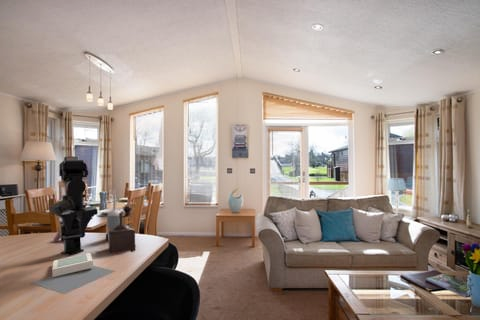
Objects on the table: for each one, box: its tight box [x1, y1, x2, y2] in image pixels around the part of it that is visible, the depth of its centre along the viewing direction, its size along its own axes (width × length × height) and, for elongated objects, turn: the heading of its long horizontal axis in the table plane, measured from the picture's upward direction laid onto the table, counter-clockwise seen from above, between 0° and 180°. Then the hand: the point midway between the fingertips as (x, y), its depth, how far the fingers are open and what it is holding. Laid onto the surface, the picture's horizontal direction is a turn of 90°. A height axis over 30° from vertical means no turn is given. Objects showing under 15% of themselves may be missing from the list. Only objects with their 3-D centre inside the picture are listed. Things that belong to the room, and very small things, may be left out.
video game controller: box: [52, 229, 61, 243], centre depth 137 cm, size 10×5×7 cm, turn 84°
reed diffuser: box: [105, 189, 122, 242], centre depth 139 cm, size 8×8×25 cm
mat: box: [31, 265, 116, 295], centre depth 92 cm, size 17×18×1 cm
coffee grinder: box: [107, 205, 136, 254], centre depth 125 cm, size 16×11×18 cm
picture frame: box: [51, 252, 94, 277], centre depth 100 cm, size 3×12×13 cm
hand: (75, 232), depth 106 cm, fingers open, 8 cm apart
